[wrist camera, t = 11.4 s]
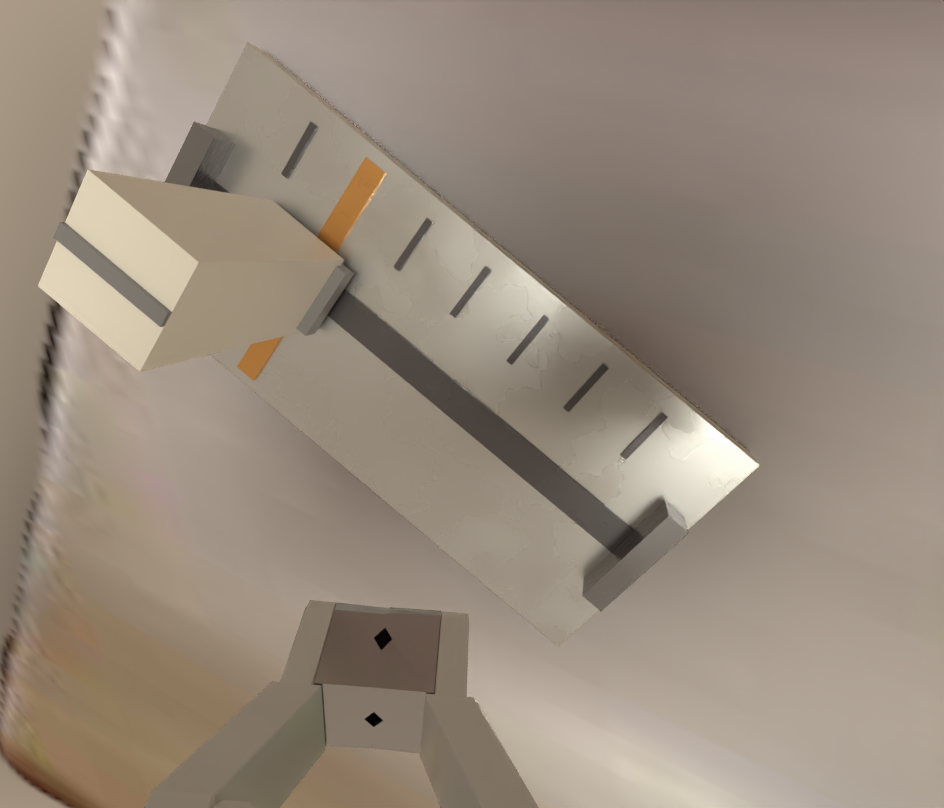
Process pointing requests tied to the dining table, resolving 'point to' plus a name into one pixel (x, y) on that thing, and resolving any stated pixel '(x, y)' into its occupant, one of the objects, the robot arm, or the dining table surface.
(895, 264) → the dining table surface
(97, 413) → the dining table surface
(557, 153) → the dining table surface
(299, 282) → the fader tab
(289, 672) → the robot arm
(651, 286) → the dining table surface
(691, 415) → the board
